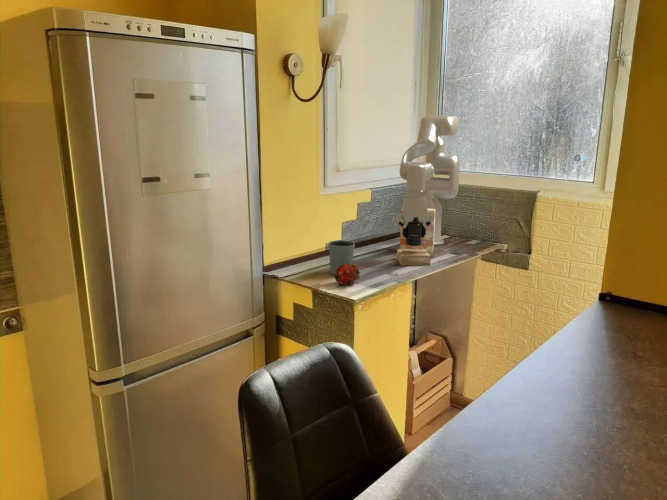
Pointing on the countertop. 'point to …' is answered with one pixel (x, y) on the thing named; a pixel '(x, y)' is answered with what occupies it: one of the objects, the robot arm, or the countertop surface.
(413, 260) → the base
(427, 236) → the coffeecake box
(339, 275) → the dragon fruit
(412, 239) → the supplement bottle
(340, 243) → the grey-green cup
